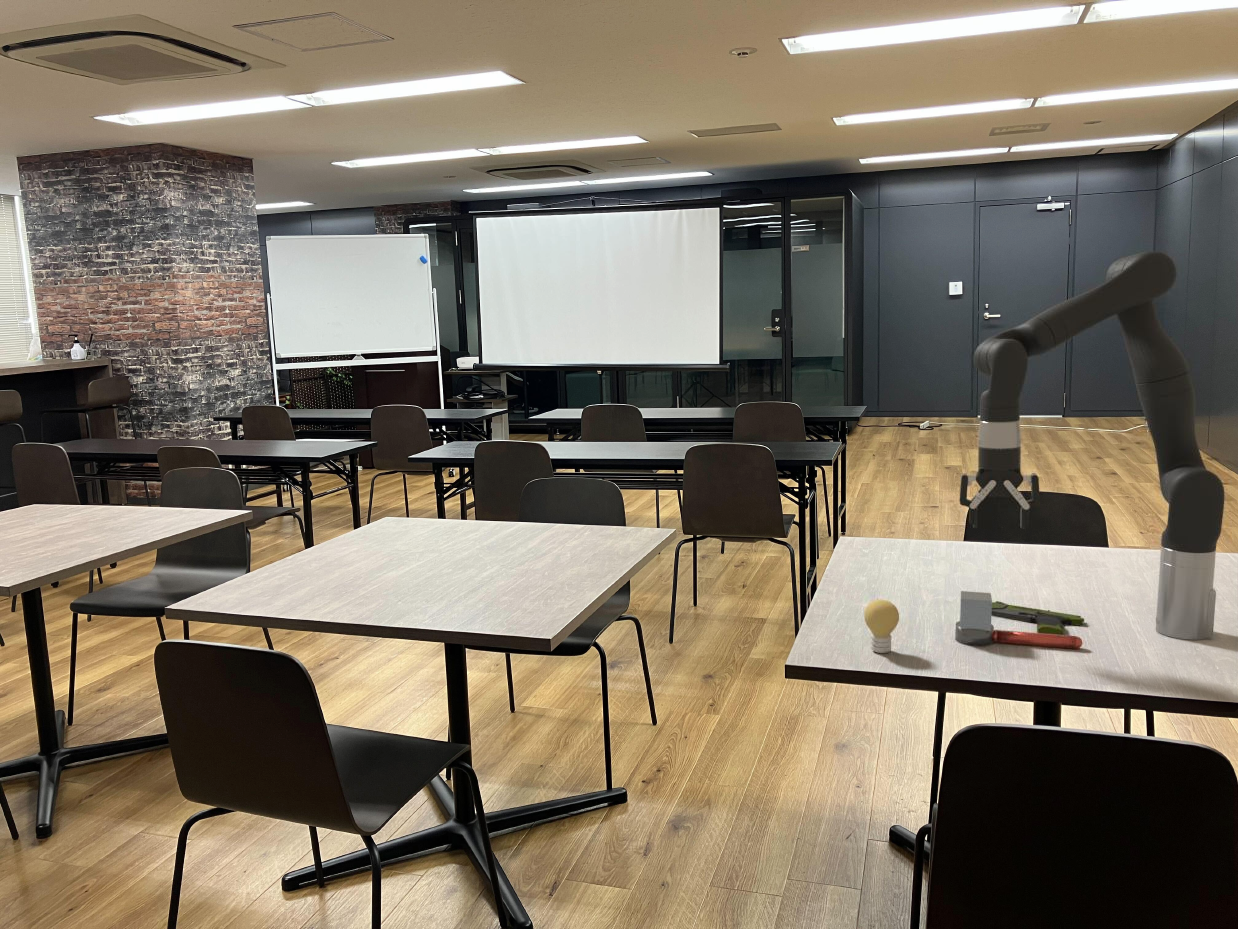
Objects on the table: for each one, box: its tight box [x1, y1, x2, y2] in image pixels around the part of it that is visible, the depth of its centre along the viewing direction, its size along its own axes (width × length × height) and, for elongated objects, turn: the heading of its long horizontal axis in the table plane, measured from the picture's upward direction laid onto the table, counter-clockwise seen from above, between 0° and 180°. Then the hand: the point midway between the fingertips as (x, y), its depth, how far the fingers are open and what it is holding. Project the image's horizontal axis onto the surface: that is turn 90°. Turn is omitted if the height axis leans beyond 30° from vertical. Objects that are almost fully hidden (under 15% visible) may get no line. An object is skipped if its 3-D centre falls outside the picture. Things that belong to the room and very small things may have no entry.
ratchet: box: [954, 620, 1084, 650], centre depth 183 cm, size 23×7×8 cm, turn 71°
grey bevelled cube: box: [959, 590, 993, 631], centre depth 185 cm, size 6×6×6 cm
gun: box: [991, 600, 1085, 635], centre depth 196 cm, size 2×19×15 cm
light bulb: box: [863, 599, 900, 654], centre depth 180 cm, size 6×6×10 cm
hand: (998, 527), depth 183 cm, fingers open, 8 cm apart
